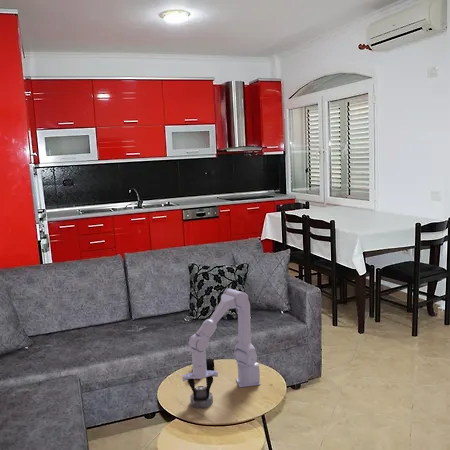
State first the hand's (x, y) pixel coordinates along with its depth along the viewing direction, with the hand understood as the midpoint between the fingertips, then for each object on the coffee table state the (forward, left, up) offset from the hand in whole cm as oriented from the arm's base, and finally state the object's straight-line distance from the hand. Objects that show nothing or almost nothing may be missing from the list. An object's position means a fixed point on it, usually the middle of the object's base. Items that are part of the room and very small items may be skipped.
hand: (201, 394), depth 193 cm
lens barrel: (0, 0, -4) cm, 4 cm away
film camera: (-5, -27, -4) cm, 28 cm away
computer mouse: (0, 0, -2) cm, 2 cm away
